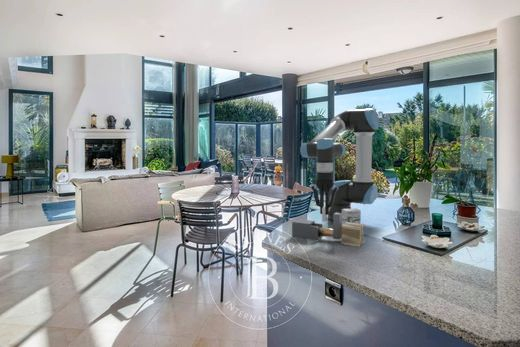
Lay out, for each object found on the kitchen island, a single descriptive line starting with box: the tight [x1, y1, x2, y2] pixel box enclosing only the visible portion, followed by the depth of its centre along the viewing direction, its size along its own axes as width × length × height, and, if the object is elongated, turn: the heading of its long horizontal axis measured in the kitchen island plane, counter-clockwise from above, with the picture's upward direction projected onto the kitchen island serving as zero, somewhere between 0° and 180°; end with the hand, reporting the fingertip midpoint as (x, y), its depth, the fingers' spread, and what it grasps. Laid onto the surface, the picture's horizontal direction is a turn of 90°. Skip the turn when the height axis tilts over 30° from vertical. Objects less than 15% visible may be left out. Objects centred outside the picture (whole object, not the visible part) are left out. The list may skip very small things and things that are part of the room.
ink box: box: [342, 208, 362, 225], centre depth 171 cm, size 9×5×12 cm, turn 103°
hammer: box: [318, 213, 342, 240], centre depth 156 cm, size 4×18×12 cm, turn 61°
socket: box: [341, 222, 365, 248], centre depth 152 cm, size 8×8×8 cm
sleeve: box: [291, 218, 323, 241], centre depth 163 cm, size 7×13×8 cm, turn 61°
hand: (324, 221), depth 158 cm, fingers closed
